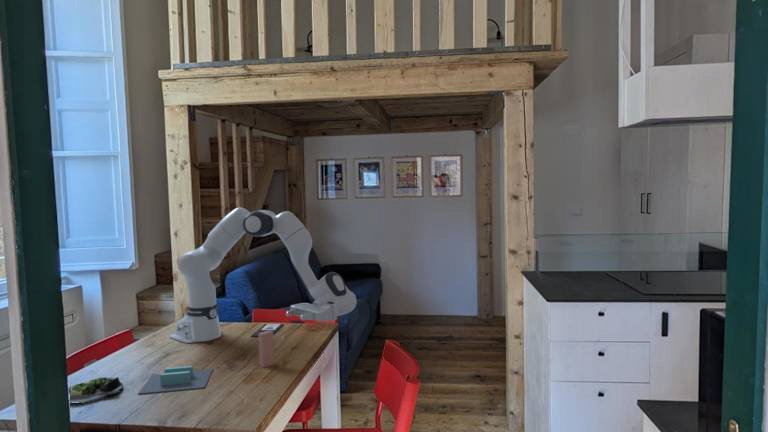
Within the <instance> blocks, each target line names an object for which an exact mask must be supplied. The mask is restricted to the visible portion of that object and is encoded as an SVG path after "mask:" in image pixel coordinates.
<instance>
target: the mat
mask: <svg viewBox="0 0 768 432" xmlns="http://www.w3.org/2000/svg"><path fill="white" fill-rule="evenodd" d="M213 370H214V369H213V368H210V369H201V370H199V369H198V370H193V371H194V376H193V377H191V382H190V383H184V384H173V385H163V386H161V381H160V375H161V374H162V373H154V374H152V375H150V377H149V378H148V380H147V381H146V382H145V384H144V385H143V386H142V388H140V390H139V392H138V394H137V395H147V394H160V393H170V392H180V391H188V390H189V391H190V390H200V389H205V388H206V386H207V384H208V382H209V380H210V377H211V375H212V372H213Z"/></svg>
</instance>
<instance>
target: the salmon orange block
mask: <svg viewBox="0 0 768 432" xmlns="http://www.w3.org/2000/svg"><path fill="white" fill-rule="evenodd" d="M258 336H259V337H258V353H259V354H258V358H259V367H261V368H266V367H269V366H273V365H275V351H274V350H275V349H274V345H275V344H274V335H273V332H272V331H265V332H261V333H258Z"/></svg>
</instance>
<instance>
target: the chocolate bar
mask: <svg viewBox="0 0 768 432" xmlns="http://www.w3.org/2000/svg"><path fill="white" fill-rule="evenodd" d="M283 326H284V323H270V324H269V323H265V324H263V325H262V326H261V327H260V328H258V329H257V330H256V331H255V332H253V333H252V334H251V335H250V338H259V336H258V333H261V332H265V331H272V332H273V336H274V335H275V334H276V333H277V332H278V331H279V330H280V329H281V328H282V327H283Z"/></svg>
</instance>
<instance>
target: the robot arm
mask: <svg viewBox="0 0 768 432" xmlns="http://www.w3.org/2000/svg"><path fill="white" fill-rule="evenodd" d="M245 234H247V235H249V236H251V237H255V238H257V237H266V236H269V235H273V234H276V236H278V237H279V238H280V240H281V241H282V242H283V244H284V246H285V248H286V249H287V251H288V254H289V257H290V261H291V264H292V267H293V268H294V270H295V272H296V273H297V275H298V278H299V279H300V281H301V282H302V284H303V286H304V288H305V290H306V294H307V297H308V299H309V301H311V303H310V302H300V303H295V304H291V305H290V307H289V310H288V311H286V312H285V316H286V317H292V316H297V317H300V318H299V319H300V320H301V321H308V320H309V321H310V320H311V321H315V322H321V323H322V322H323V323H324V322H328V321H329V322H330V321H332V322H333V321H337V320H338V317H339V316H344V315H346V314H348V313H351V312H352V311H353V310H355V308H356V306H357V297H356V294H355V293H354V292H353V291H351V290H350V289H349V288H348V287H347V286H346V284H345V280H344V278H343V277H342V275H340V274H339V273H337V272H335V271H329V272H328V273H325V275H324V276H322V277H321V278H320V279H319V280H318V279H317V277H316V275H315V273H314V271H313V270H312V268H311V266H310V264H309V257H310V252H311V250H312V247H313V239H312V235H311V233H310V232H309V231H308V229H307V228H306V227H305V225H304V224H303V223H302V221H301V220H300V219H299V218H298V217H297V216H296V215H295V214H294V213H292V212H291V211H287V210H286V211H281V212H280V213H277V212H276V211H274V210H270V209H268V210H267V209H259V210H253V211H251V212H250V211H249V210H248V209H246V208H244V207H241V206H240V207H236V208H234V209H232V210H231V211H230V212H228V213H227V214H226V215H225V216H224V217H223V218H222V219H221V220H220V221H219V222H218V223H217V224H216V225H215V226H214V227H213V228H212V230H210V232H209V233H208V234H207V238H206V239H205V241H204V243H202V245H201V246H200V247H198V248H196V249H192V250H188V251H186V252H185V253H184V254H183V255H181V256H180V257H179V259H178V261H177V269H178V271H179V272H180V273H181V274H182V275H183V277H184V280H185V282H186V284H187V285H186V286H187V291H188V303H189V304H188V305H189V306H185V308H184V310H185V311H186V314H185V316H183V317H182V318H181V319H180V320H178V321H177V323H176V325H175V332H174V333H172V334H170V335H169V336H170V337H169V338H170V339H173V340H176V341H179V342H182V343H184V344H185V343H186V344H193V343H200V342H208V341H212V340H216V339H219V338H220V337H221V336H222V335H223V334H222V328H221V327H220V326H221V325H220V320H219V314H218V312H219V311H218V308H219V307H218V303H217V294H216V293H217V292H216V285H215V284H214V283H213V280H212V278H211V275H210V272H211V271H214V270H215V269H216V268H218V267H219V266H220V264H221V263H222V261H223V260H224V258H225V257H226V254H228V252H229V251H230V250H231V249H232V248H233V247H234V246H235V244H236V243H237V242H238V241H239V240H240V239H241V238H242V237H243V236H244V235H245Z"/></svg>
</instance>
